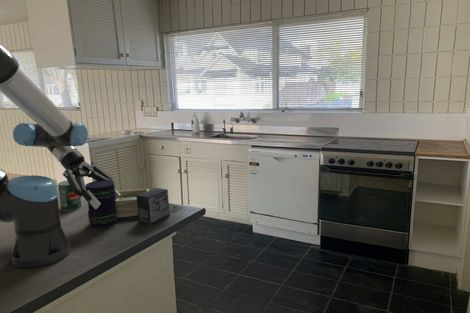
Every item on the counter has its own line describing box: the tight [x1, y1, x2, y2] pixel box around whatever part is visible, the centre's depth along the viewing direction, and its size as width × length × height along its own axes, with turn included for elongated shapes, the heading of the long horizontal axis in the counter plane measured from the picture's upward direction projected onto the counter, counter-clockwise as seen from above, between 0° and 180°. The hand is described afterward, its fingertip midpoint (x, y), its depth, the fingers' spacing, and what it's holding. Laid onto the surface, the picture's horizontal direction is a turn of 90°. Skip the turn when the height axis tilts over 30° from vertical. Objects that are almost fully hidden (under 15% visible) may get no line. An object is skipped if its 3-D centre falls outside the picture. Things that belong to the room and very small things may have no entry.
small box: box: [136, 187, 171, 226], centre depth 129 cm, size 11×6×10 cm, turn 149°
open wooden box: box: [115, 188, 150, 218], centre depth 139 cm, size 14×14×6 cm
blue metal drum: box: [85, 180, 119, 230], centre depth 125 cm, size 10×10×15 cm
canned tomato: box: [57, 180, 83, 212], centre depth 143 cm, size 8×8×11 cm
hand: (108, 201), depth 123 cm, fingers closed on blue metal drum, 10 cm apart
